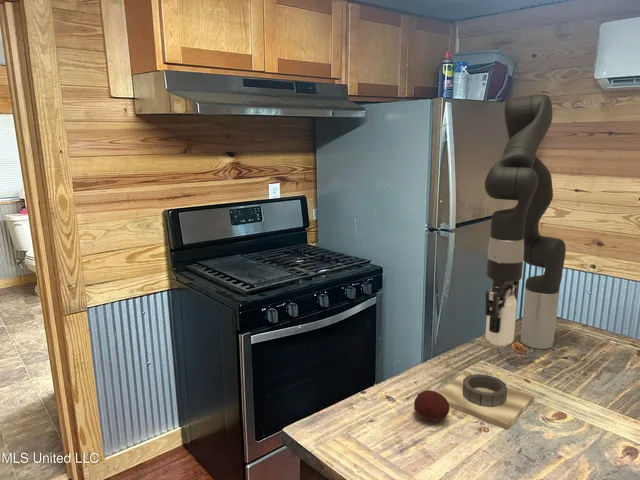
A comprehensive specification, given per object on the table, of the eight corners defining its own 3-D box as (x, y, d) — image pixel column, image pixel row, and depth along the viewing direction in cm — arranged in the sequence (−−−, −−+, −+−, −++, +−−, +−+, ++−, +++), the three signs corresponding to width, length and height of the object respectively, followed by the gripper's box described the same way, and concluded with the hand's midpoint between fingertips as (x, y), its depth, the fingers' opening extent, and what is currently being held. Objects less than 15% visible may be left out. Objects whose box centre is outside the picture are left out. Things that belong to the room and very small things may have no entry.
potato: (423, 430, 108) (424, 405, 106) (407, 410, 115) (408, 386, 114) (453, 424, 109) (455, 400, 108) (435, 405, 117) (436, 382, 116)
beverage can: (490, 334, 119) (493, 286, 116) (516, 340, 115) (521, 291, 113) (481, 342, 114) (484, 293, 111) (508, 350, 110) (512, 299, 108)
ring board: (464, 376, 131) (465, 361, 130) (533, 400, 119) (535, 384, 118) (433, 400, 119) (434, 384, 118) (507, 429, 108) (508, 412, 107)
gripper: (500, 248, 118) (495, 314, 121) (475, 261, 107) (471, 333, 111) (533, 253, 113) (527, 322, 117) (510, 267, 102) (504, 342, 106)
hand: (499, 327), depth 114 cm, fingers closed on beverage can, 6 cm apart
